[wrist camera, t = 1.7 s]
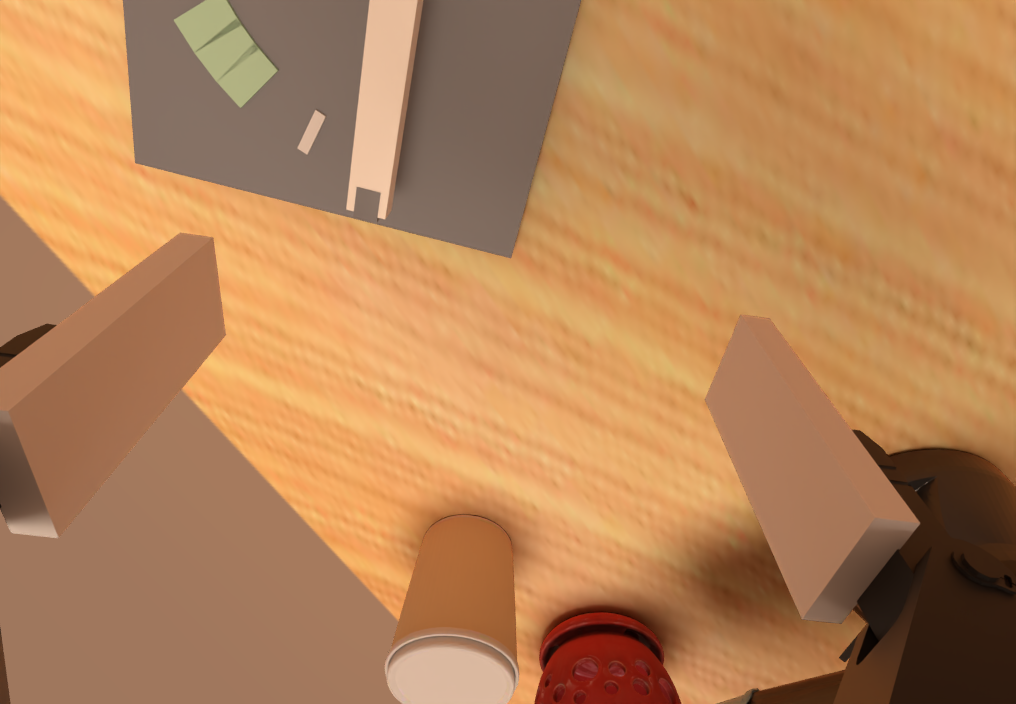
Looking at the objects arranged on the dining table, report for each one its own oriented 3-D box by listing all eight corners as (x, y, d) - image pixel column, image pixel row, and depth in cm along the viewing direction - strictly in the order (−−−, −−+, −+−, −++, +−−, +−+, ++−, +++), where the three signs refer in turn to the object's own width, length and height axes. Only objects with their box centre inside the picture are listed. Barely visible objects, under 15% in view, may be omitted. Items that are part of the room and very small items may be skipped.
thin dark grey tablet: (607, -104, 27) (617, -119, 24) (511, 249, 36) (509, 273, 33) (124, -257, 25) (63, -296, 22) (150, 157, 34) (109, 172, 31)
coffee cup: (395, 555, 51) (359, 694, 41) (446, 490, 47) (421, 626, 37) (486, 595, 53) (474, 736, 43) (543, 536, 49) (545, 676, 39)
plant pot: (685, 663, 57) (718, 806, 47) (561, 689, 60) (566, 829, 50) (645, 581, 52) (673, 724, 41) (510, 614, 55) (504, 755, 44)
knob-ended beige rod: (384, -182, 23) (373, -195, 22) (463, -157, 23) (458, -168, 22) (343, 202, 31) (332, 213, 30) (402, 218, 31) (395, 228, 30)
